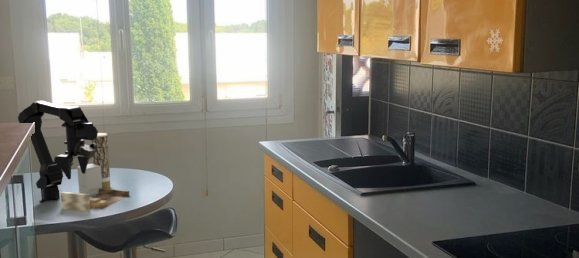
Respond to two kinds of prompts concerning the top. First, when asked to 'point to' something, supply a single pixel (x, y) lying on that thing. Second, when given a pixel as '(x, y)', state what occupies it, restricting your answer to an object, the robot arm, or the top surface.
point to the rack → (111, 195)
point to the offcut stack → (97, 203)
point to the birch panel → (75, 201)
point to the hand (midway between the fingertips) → (76, 176)
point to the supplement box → (90, 179)
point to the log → (102, 158)
